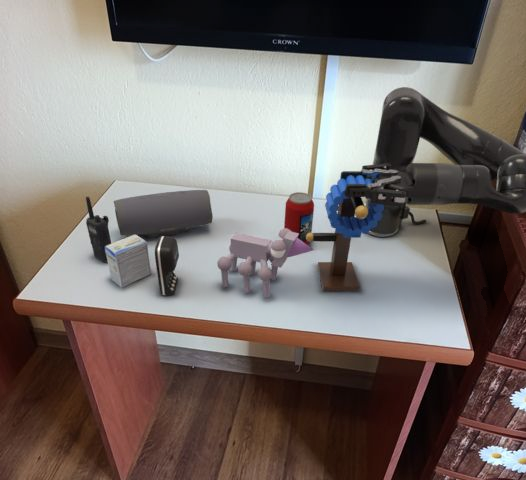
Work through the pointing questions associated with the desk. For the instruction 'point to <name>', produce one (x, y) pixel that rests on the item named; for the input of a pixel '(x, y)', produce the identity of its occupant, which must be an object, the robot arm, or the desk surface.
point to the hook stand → (340, 251)
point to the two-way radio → (98, 232)
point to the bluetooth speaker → (163, 212)
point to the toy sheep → (260, 256)
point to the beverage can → (299, 214)
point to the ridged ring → (352, 225)
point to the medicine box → (128, 260)
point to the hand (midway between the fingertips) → (343, 183)
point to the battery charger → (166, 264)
